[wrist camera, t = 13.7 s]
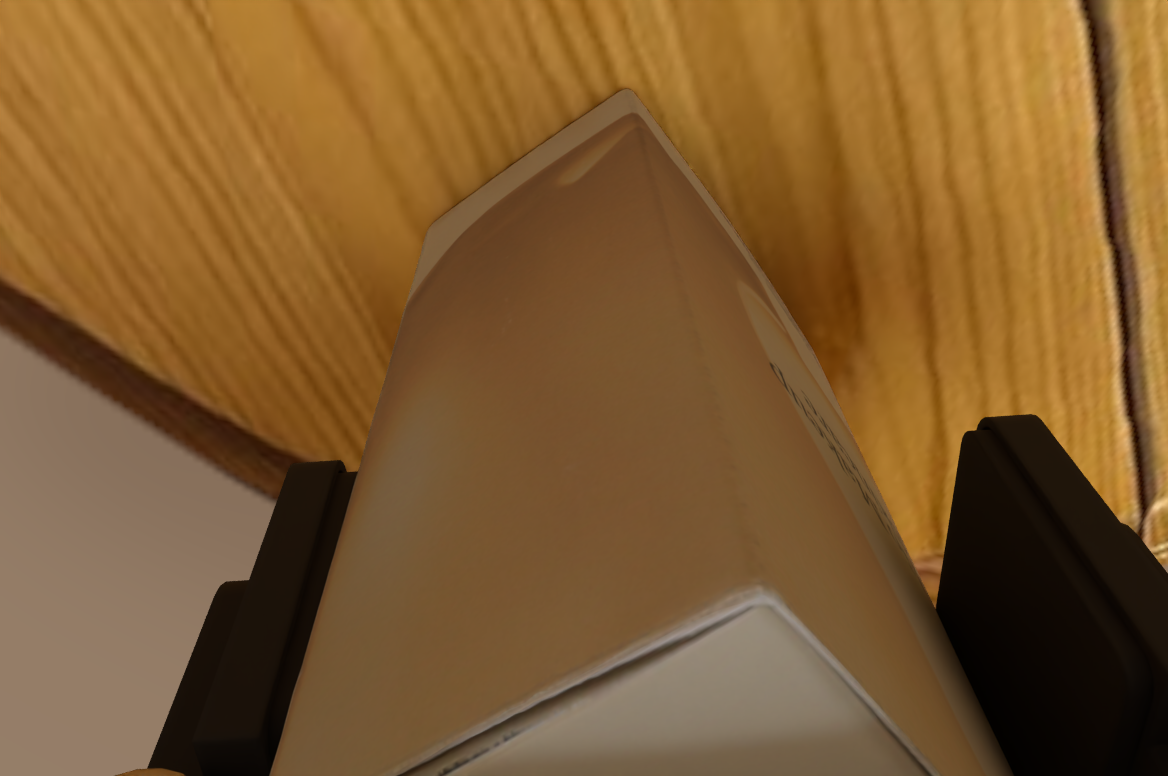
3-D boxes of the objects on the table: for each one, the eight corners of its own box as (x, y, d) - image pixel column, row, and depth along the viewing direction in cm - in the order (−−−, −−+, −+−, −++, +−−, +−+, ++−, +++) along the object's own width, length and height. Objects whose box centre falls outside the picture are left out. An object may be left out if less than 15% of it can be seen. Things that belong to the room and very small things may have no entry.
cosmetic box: (820, 351, 19) (1182, 1066, 9) (624, 471, 20) (728, 1235, 10) (618, 60, 16) (785, 584, 6) (404, 218, 17) (212, 900, 7)
